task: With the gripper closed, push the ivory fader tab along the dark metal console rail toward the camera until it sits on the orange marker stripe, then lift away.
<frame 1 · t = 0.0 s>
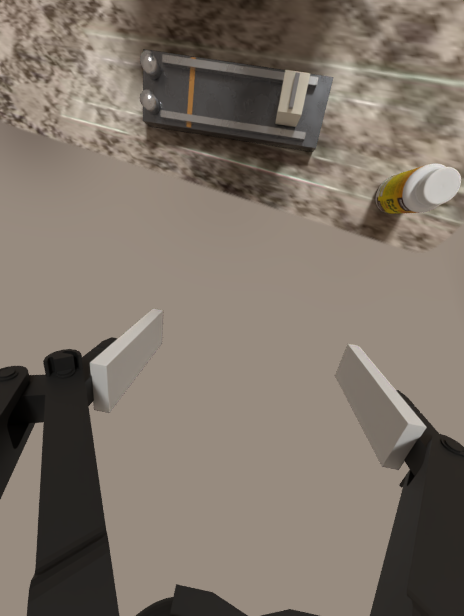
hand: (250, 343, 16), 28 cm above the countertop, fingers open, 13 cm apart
fader tab: (291, 99, 29), point 5 cm above the countertop, slide at 8.0 cm
supplement bottle: (392, 195, 36), on the countertop
console: (233, 107, 34), on the countertop
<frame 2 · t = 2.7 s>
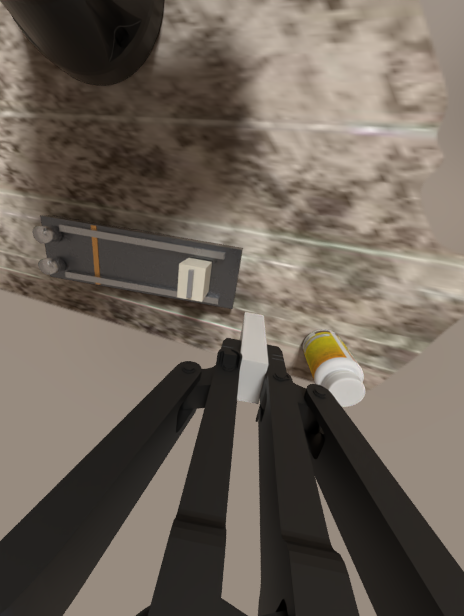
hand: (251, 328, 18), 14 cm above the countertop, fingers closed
fader tab: (194, 279, 27), point 5 cm above the countertop, slide at 8.0 cm
supplement bottle: (320, 343, 34), on the countertop
console: (146, 261, 32), on the countertop
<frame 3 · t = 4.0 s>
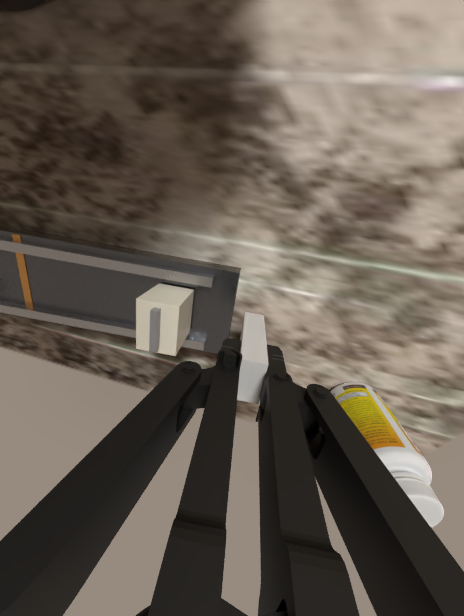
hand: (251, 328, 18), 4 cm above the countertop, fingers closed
fader tab: (165, 318, 18), point 5 cm above the countertop, slide at 8.0 cm
supplement bottle: (349, 399, 24), on the countertop
console: (102, 285, 22), on the countertop
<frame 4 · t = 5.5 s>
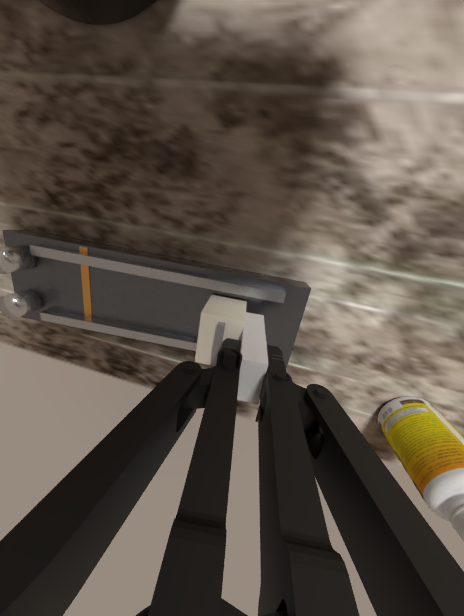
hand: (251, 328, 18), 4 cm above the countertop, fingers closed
fader tab: (221, 331, 17), point 5 cm above the countertop, slide at 6.6 cm, touching gripper
supplement bottle: (401, 412, 24), on the countertop
console: (161, 296, 22), on the countertop
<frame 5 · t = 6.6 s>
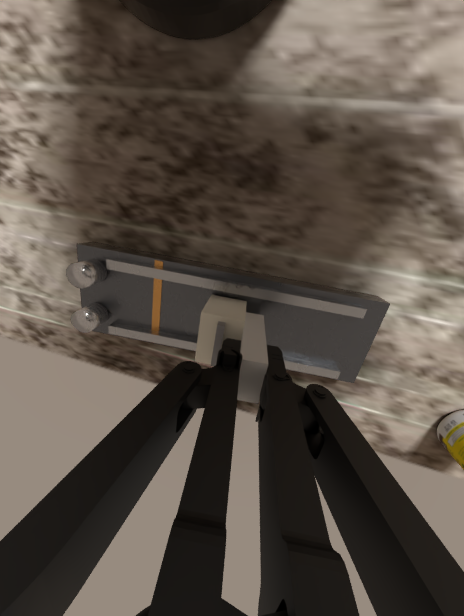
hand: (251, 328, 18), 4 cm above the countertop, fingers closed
fader tab: (221, 331, 17), point 5 cm above the countertop, slide at 0.2 cm, touching gripper
supplement bottle: (460, 424, 24), on the countertop
console: (225, 309, 22), on the countertop
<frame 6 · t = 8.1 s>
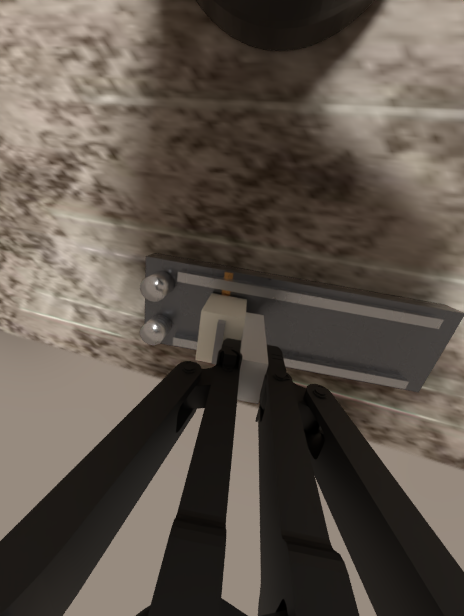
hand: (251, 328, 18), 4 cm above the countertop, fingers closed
fader tab: (222, 329, 17), point 5 cm above the countertop, slide at -5.7 cm, touching gripper
console: (286, 319, 22), on the countertop
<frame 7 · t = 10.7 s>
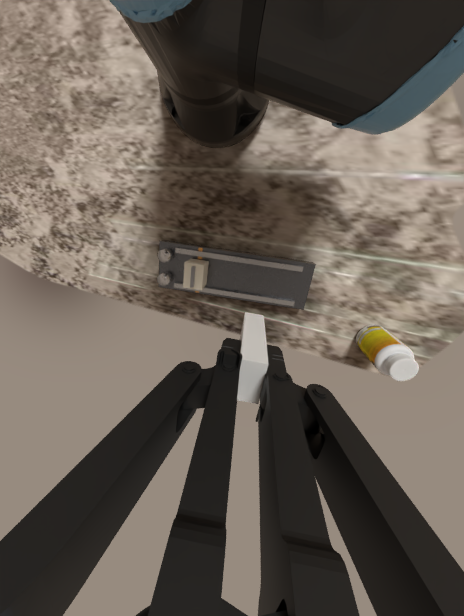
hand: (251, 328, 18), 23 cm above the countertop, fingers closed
fader tab: (195, 274, 36), point 5 cm above the countertop, slide at -5.9 cm
supplement bottle: (369, 336, 43), on the countertop
console: (234, 273, 40), on the countertop
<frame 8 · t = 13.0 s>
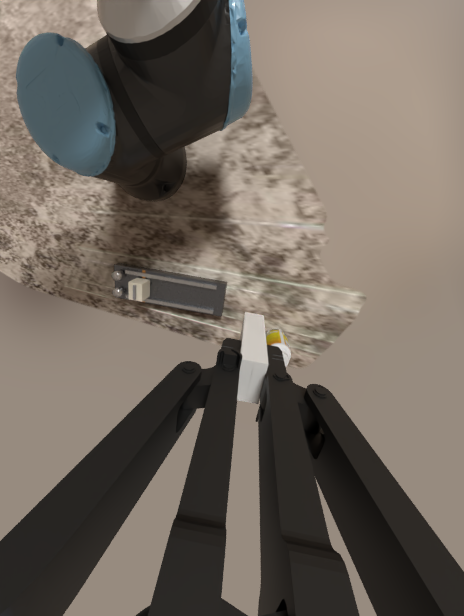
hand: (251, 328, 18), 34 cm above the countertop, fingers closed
fader tab: (139, 289, 50), point 5 cm above the countertop, slide at -5.9 cm
supplement bottle: (275, 337, 57), on the countertop
console: (171, 288, 54), on the countertop
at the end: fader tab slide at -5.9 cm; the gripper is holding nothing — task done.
